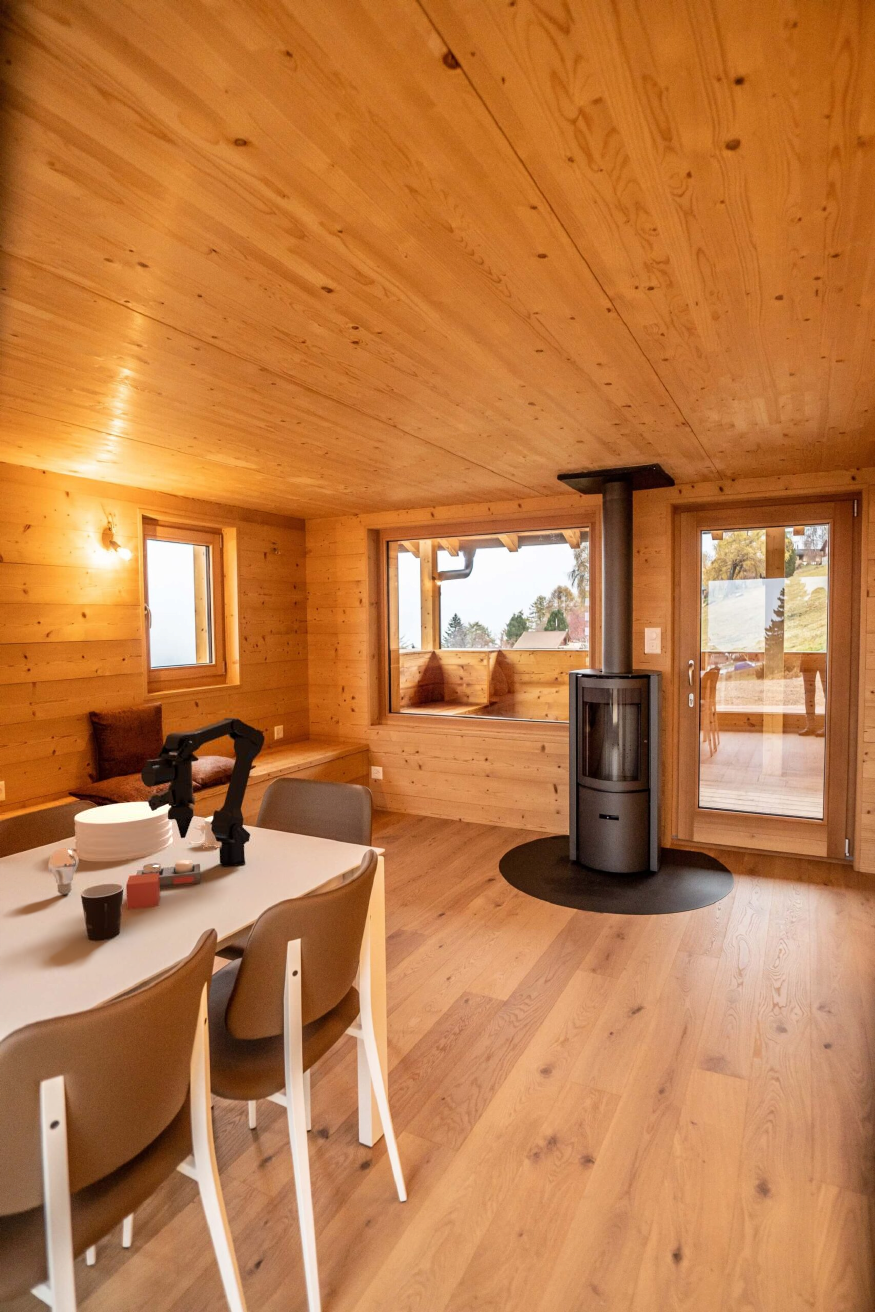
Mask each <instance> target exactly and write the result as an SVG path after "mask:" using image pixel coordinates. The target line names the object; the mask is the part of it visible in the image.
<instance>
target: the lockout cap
mask: <svg viewBox="0 0 875 1312" xmlns="http://www.w3.org/2000/svg"><path fill="white" fill-rule="evenodd" d="M128 876H129V877H128V879H127V882H126V885H125V887H126V889H125V890H126V909H127V910H131V909H140V908H148V907H149V908H150V907H155V906H159V903H160V902H159V901H160V898H161V890H160V889H161V888H160V880H159V873H150V874H141V875H136V874H133V875H128Z"/></svg>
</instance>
